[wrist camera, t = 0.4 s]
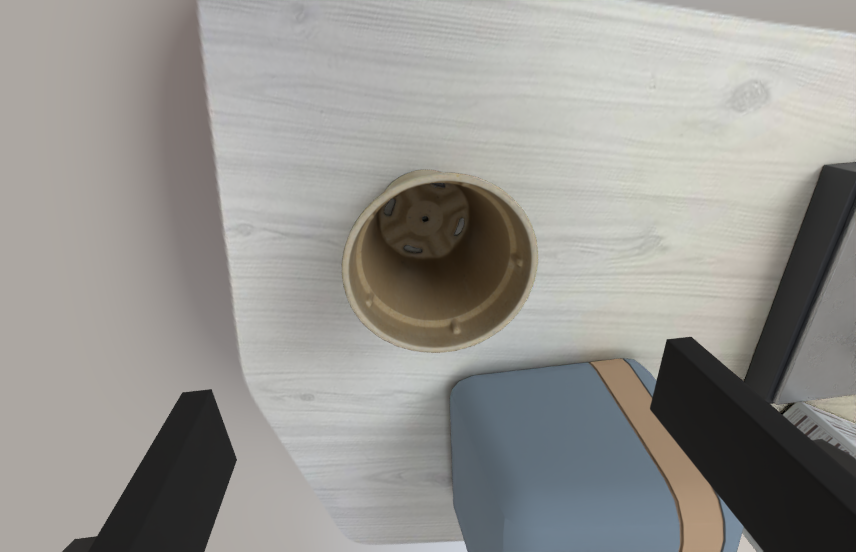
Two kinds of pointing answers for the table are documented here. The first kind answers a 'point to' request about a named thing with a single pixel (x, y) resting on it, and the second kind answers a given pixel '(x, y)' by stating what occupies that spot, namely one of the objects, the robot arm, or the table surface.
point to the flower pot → (439, 262)
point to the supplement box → (818, 434)
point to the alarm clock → (577, 466)
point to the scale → (814, 303)
